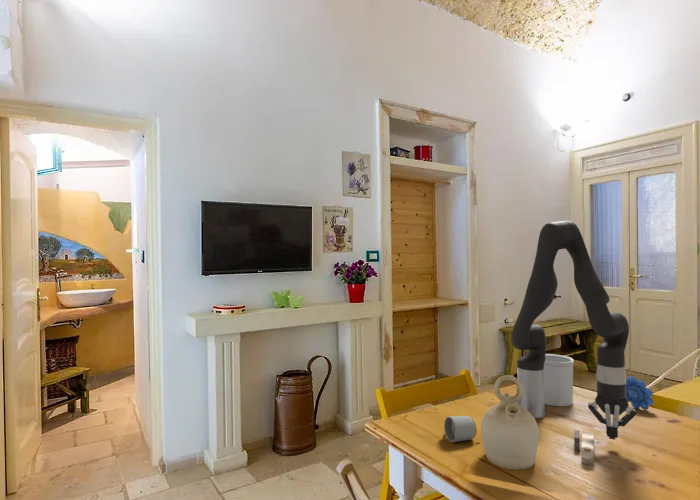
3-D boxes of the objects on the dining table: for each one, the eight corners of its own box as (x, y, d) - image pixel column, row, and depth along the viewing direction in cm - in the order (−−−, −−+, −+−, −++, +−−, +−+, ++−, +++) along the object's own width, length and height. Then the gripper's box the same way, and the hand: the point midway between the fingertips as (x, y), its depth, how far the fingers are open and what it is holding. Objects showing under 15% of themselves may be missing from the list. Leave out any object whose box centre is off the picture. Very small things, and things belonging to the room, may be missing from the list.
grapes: (614, 406, 168) (614, 375, 169) (622, 403, 172) (621, 372, 173) (649, 415, 159) (648, 382, 159) (656, 411, 163) (655, 379, 163)
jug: (534, 482, 113) (532, 385, 113) (475, 468, 121) (473, 377, 122) (543, 459, 126) (541, 372, 126) (489, 447, 134) (487, 366, 135)
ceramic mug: (478, 442, 138) (477, 417, 138) (455, 446, 135) (455, 421, 136) (460, 430, 148) (459, 407, 148) (439, 433, 145) (438, 410, 146)
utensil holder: (576, 398, 179) (575, 355, 179) (573, 409, 166) (572, 363, 166) (537, 393, 186) (536, 352, 187) (532, 403, 174) (531, 359, 174)
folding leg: (593, 466, 118) (593, 451, 118) (581, 463, 120) (580, 449, 120) (594, 444, 132) (593, 431, 132) (583, 442, 133) (582, 429, 133)
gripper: (586, 380, 129) (587, 439, 129) (639, 386, 123) (640, 447, 123) (585, 374, 136) (586, 429, 136) (635, 379, 130) (637, 437, 130)
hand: (612, 438), depth 129 cm, fingers closed
